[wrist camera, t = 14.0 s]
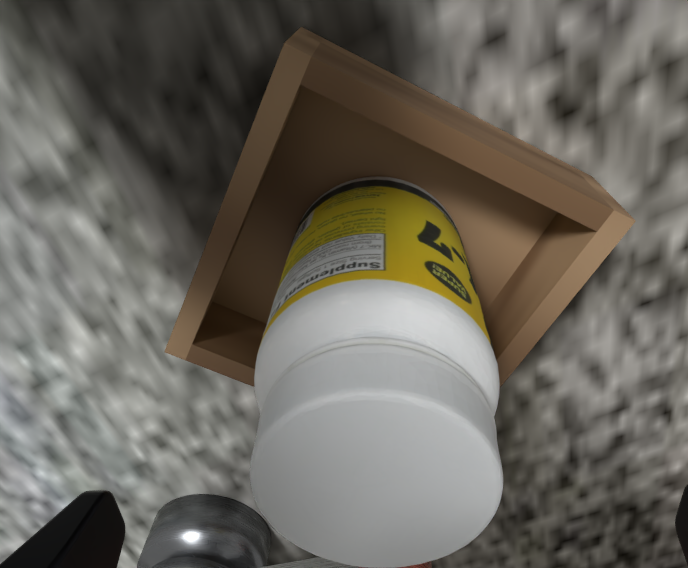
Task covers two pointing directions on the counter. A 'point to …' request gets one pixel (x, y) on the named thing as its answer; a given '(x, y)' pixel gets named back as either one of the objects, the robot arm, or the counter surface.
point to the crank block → (208, 533)
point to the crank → (307, 567)
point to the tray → (402, 163)
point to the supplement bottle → (377, 384)
